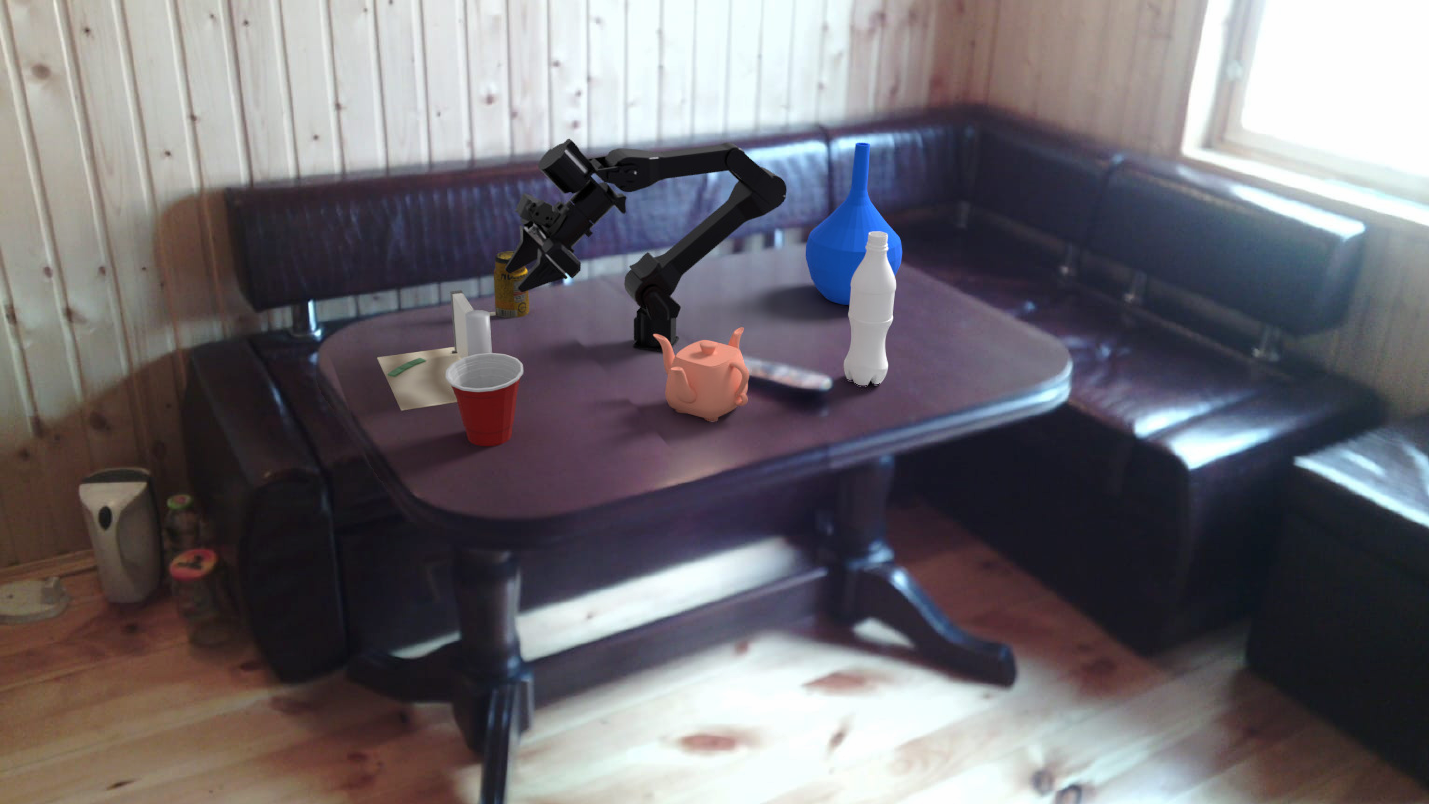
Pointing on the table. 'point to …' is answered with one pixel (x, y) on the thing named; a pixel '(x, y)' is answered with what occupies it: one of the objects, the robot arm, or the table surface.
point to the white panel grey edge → (469, 327)
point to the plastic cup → (486, 395)
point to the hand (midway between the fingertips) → (513, 280)
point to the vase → (848, 237)
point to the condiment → (509, 289)
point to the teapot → (705, 377)
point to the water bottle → (870, 313)
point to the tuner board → (420, 377)
